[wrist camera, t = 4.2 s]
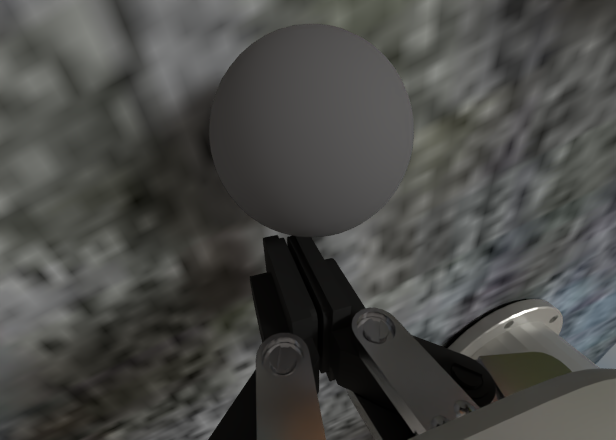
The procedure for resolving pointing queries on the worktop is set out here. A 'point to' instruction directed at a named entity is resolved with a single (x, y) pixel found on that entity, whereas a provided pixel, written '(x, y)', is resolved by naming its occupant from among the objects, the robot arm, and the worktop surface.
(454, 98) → the worktop surface
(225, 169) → the grey ball
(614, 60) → the worktop surface
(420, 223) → the worktop surface
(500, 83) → the worktop surface
